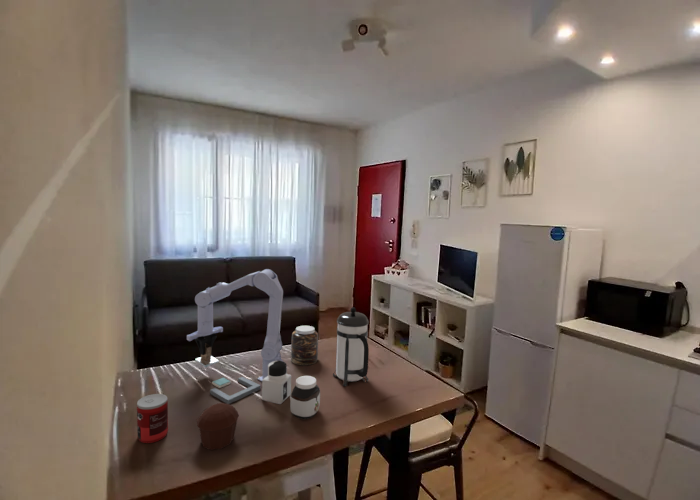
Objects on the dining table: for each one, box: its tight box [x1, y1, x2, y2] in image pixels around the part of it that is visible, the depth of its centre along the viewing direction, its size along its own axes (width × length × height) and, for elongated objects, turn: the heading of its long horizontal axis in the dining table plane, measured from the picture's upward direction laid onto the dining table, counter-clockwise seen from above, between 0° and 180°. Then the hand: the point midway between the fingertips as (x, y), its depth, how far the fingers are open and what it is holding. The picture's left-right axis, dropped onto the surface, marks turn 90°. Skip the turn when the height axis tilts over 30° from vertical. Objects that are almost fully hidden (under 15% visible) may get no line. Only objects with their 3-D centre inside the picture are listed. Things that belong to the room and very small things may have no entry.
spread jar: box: [289, 375, 321, 420], centre depth 119 cm, size 12×11×12 cm
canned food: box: [136, 393, 169, 444], centre depth 103 cm, size 8×8×11 cm
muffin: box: [196, 402, 240, 451], centre depth 102 cm, size 12×11×10 cm
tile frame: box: [209, 376, 262, 405], centre depth 130 cm, size 11×14×2 cm
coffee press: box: [332, 306, 370, 388], centre depth 142 cm, size 17×16×30 cm
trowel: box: [194, 344, 220, 368], centre depth 140 cm, size 6×7×6 cm
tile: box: [211, 376, 232, 389], centre depth 136 cm, size 5×5×2 cm
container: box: [261, 360, 292, 405], centre depth 127 cm, size 8×8×13 cm
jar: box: [290, 325, 319, 366], centre depth 160 cm, size 12×12×15 cm
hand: (205, 353), depth 141 cm, fingers closed on trowel
